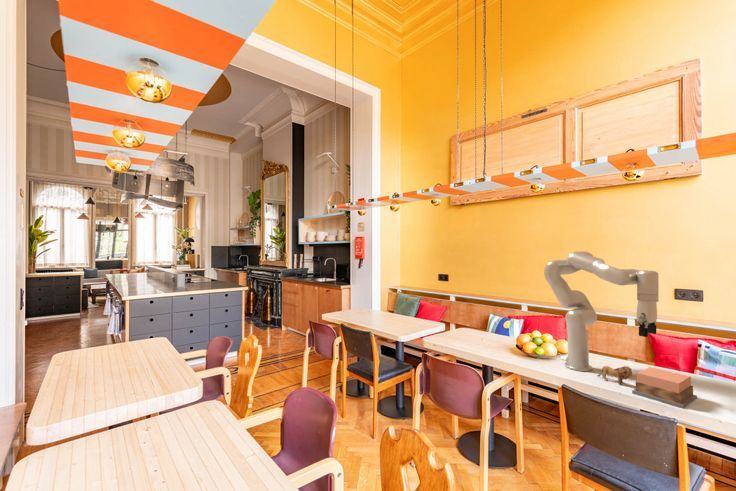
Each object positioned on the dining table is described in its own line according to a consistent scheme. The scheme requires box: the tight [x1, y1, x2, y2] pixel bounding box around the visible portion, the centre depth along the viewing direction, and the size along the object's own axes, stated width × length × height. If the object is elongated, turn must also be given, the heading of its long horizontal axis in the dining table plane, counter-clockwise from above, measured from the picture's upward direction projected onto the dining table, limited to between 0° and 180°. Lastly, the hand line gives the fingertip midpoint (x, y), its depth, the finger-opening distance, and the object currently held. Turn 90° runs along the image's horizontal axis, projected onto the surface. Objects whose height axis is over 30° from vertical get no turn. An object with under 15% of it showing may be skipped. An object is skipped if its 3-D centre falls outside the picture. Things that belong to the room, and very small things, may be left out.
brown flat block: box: [635, 381, 694, 404], centre depth 144 cm, size 15×15×4 cm
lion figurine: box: [596, 365, 633, 386], centre depth 160 cm, size 15×5×9 cm, turn 33°
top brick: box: [636, 366, 692, 393], centre depth 144 cm, size 14×14×4 cm
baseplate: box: [631, 388, 698, 409], centre depth 144 cm, size 17×17×1 cm
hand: (647, 334), depth 151 cm, fingers open, 9 cm apart
